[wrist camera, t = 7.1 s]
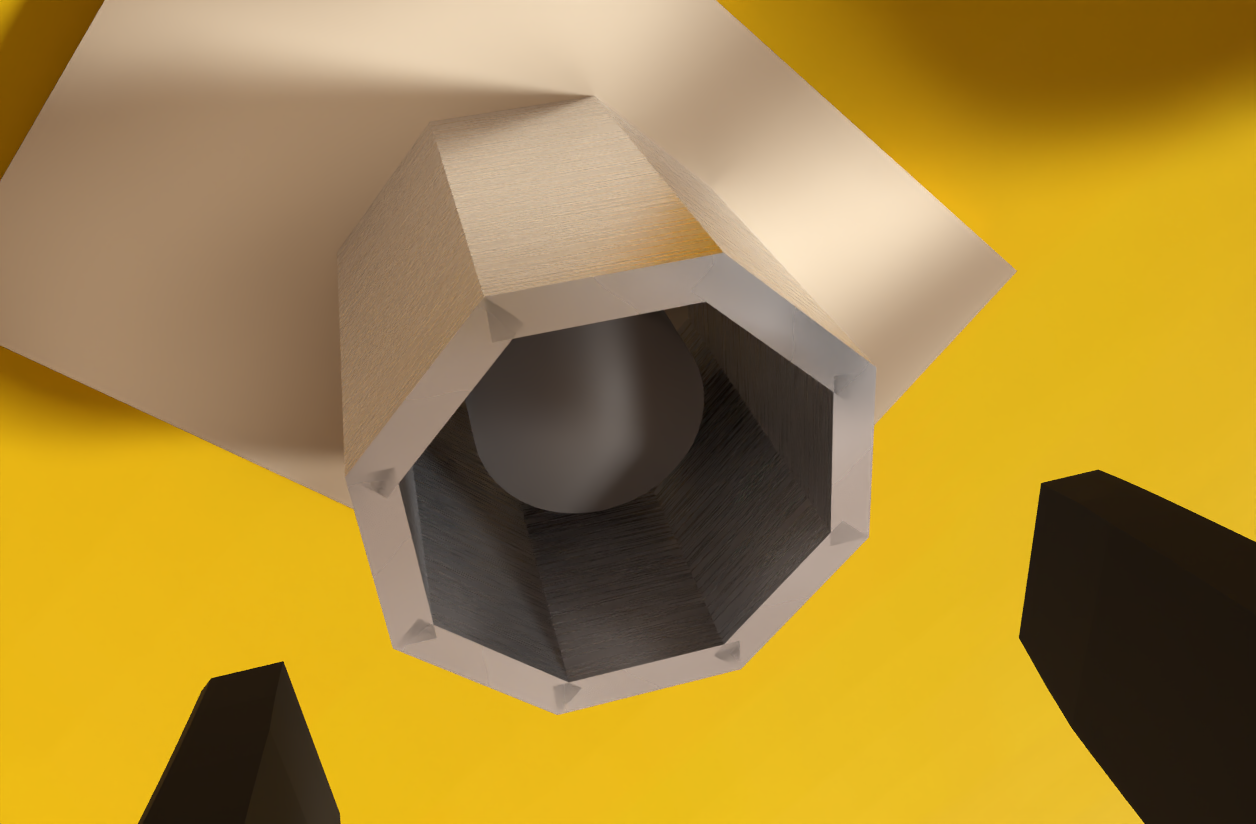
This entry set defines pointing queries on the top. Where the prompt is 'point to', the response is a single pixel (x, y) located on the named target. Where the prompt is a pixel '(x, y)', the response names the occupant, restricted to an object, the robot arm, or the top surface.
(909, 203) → the board
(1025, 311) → the top surface
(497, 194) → the collar
